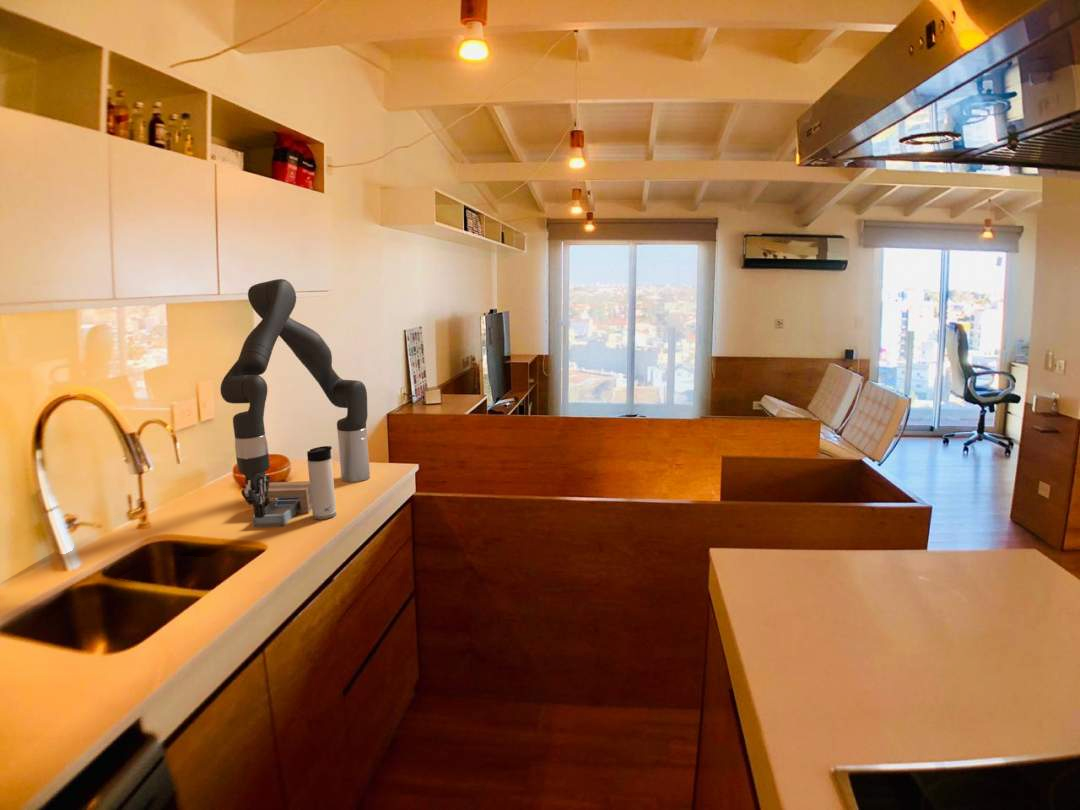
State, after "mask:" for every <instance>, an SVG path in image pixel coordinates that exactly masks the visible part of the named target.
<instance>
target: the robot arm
mask: <svg viewBox="0 0 1080 810" xmlns="http://www.w3.org/2000/svg"><path fill="white" fill-rule="evenodd" d="M247 298H248V302H249V304H250V306H251V307H252V309H253V310H254V311H255V313H256V314H257V315H258V316H259V317H260V318H261V320H260V322H259V323H258V324H257V325H256V326H255V327H254V328H253V329H252V330H251V332H250V333H249V334H248V336H247V337H246V338H245V340H244V342H243V343H242V344H243V345H242V346H241V347H242V348H241V351H240V353H239V355H238V358H237V360H236V362H235V363H234V364H233V365H232V366H231V368H230V369H229V370H228V371H227V373H226V374H225V376H224V377H223V379H222V381H221V384H220V395H221V397H222V399H223V400H224V402H226V403H229V404H249V407H248V410H247V411H242V412H238V413H236V414H234V415H233V418H232V424H233V425H232V427H233V434H234V450H235V451H234V452H235V457H236V464H237V471H238V473H239V474H241V475H244V485H245V489H242V490H241V492H240V493H241V495H242V497H243V498H244V500H245V502H246V503H247V504H248V506H251V505H253V512H254V513H253V514H254V515H255V518H263V517H264V516H265V506H264V502H265V497H267V495H268V489H269V483H270V482H271V476H270V475H266V472H267V471H269V469H270V468H271V463H270V455H269V446H268V439H267V437H266V431H265V430H266V429H265V421H264V416H265V408H266V402H267V397H268V384H267V382H266V380H265V378H264V377H262V376H261V375H263V374H264V373H265V372H266V371H267V368H268V365H269V362H270V360H271V357H272V356H271V355H272V352H273V351H274V350H273V349H274V347H275V344H276V342H277V340H278V338H279V337H280V339H282V341H283V342H284V343H285V344H286V345H287V346H288V347H289V349H290V350H291V351H292V353H293V354H294V356H295V357H297V359H298V360H299V361H300V362H301V364H302V365H303V366H304V367H305V368H306V369H307V371H309V373H310V375H311V376H312V377H313V378H314V379H315V381H316V382H317V384H318V385H319V386H320V388H321V389H322V391H323V392H324V395H325V396H326V398H327V399H328V400H329V402H330V404H332V405H333V406H334V407H337V408H340V409H343V408H344V409H346V410H347V411H346V416H345V417H343V418H340V419H338V420H337V421H336V431H337V441H338V442H337V443H338V452H339V453H338V454H339V455H338V456H339V463H340V464H339V467H340V477H341V478H340V479H341V481H342V482H345V483H358V482H363V480H364V481H366V480H368V479H370V478H371V474H370V473H371V472H370V457H369V444H368V433H367V432H368V430H367V421H368V416H369V415H368V392H367V391H368V390H367V388H366V385H365V384H364V383H363V382H362V381H361V380H354V379H343V378H341V377H340V376H339V375H338V374H337V373H336V371H335V370H334V368H333V365H332V363H333V362H332V361H333V355H332V351H331V349H330V347H329V345H328V344H327V343H326V342H325V340H324V339H323V338H322V336H321V335H320V334H319V333H318V332H317V331H315V330H314V329H312V328H310V327H308V326H307V325H304V324H303V323H301V322H298V321H297V320H295V319H293V318H292V317H290V316H291V315H292V313H293V311H294V308H295V306H296V302H297V294H296V290H295V288H294V286H293V285H292V283H290V281H288V280H287V279H284V278H282V279H281V278H279V279H273V280H268V281H263V282H258V283H257V284H254V285H252V286H250V287H249V288H248V291H247ZM254 515H253V516H254Z"/></svg>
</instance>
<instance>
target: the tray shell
mask: <svg viewBox="0 0 1080 810" xmlns="http://www.w3.org/2000/svg"><path fill="white" fill-rule="evenodd" d="M300 507H301V506H300V498H299V499H289V500H278V498H275V499H274V498H273V499H272V502H270V503H269V504H268V505H267V506H266V507H265V516H264V517H263V518H255V515H253V516H252V522H253V528H260V527H261V528H263V527H285V526H286V524H287V523H288V522H289V521H291V519H292V518H294V516H295V515H296V514H298V509H299V508H300Z"/></svg>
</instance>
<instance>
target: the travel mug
mask: <svg viewBox="0 0 1080 810" xmlns="http://www.w3.org/2000/svg"><path fill="white" fill-rule="evenodd" d="M332 449H333V447H332V445H331V446H329V445H324V446H323V445H322V446H318V447H314V448H311V449H309V450H308V451H306V452H307V453H306V454H307V470H308V481H310V492H311V502H312V510H311V511H312V518H313V519H314V518H315V520H317V519H325V520H328V519H327V518H330V519H331V517H332V518H334V517H335V516H337V505H336V494H335V483H334V473H333V471H334V470H333V461H332V452H331V450H332Z"/></svg>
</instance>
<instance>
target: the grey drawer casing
mask: <svg viewBox="0 0 1080 810" xmlns="http://www.w3.org/2000/svg"><path fill="white" fill-rule="evenodd" d="M275 498H278V500H289V499H299V498H300V506H301V507H300V508H299V509H298V512H297V514H298V515H299V514H300V513H303V514H309V513H310V512H311V511H312V510H311V509H312V502H311V492H310V481H309V480H308V481H307V480H306V481H279V482H278V481H274V482H271V481H270V482H269V489H268V495H267V497H265V502H264V506H265V507H266V506H267V505H268V504H269V503H270V502H272V501H273V500H274V499H275ZM310 510H311V511H310ZM309 511H310V512H309ZM308 512H309V513H308ZM300 515H301V514H300Z"/></svg>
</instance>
